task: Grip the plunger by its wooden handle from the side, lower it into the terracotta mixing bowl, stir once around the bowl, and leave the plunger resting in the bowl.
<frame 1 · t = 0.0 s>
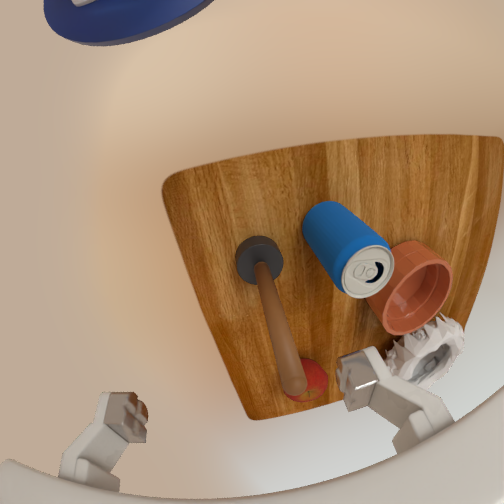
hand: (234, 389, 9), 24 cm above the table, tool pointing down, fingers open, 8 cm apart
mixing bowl: (399, 277, 40), on the table
apple: (299, 363, 46), on the table
bowl: (409, 340, 49), on the table
beverage can: (324, 222, 34), on the table
plunger: (257, 255, 35), on the table
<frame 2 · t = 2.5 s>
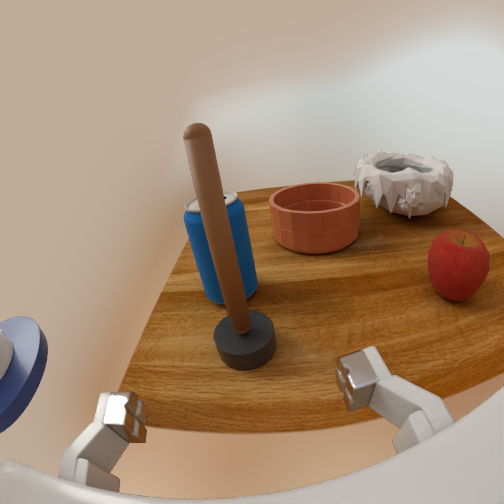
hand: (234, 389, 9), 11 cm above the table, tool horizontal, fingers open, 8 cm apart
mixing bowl: (316, 233, 43), on the table
apple: (450, 293, 26), on the table
bowl: (404, 209, 47), on the table
beverage can: (233, 292, 34), on the table
plunger: (247, 347, 25), on the table
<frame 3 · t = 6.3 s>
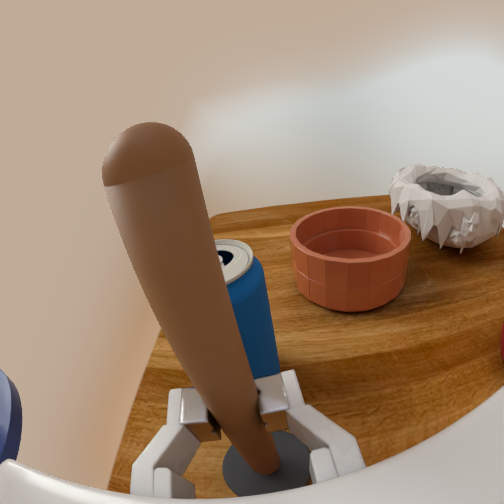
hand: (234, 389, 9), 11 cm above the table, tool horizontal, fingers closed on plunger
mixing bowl: (350, 276, 32), on the table
bowl: (445, 236, 35), on the table
beverage can: (244, 378, 22), on the table
plunger: (270, 472, 14), on the table, touching gripper
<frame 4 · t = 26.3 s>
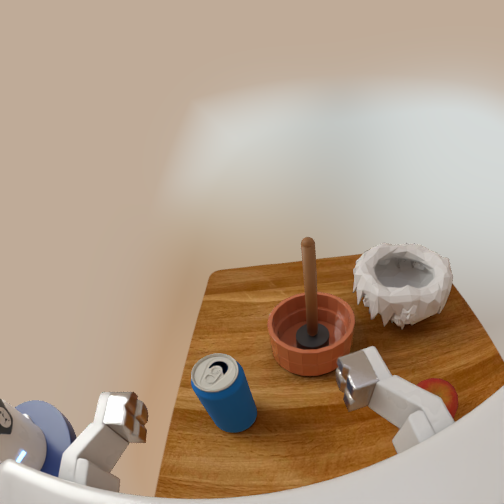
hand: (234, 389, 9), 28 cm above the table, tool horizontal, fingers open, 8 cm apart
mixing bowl: (312, 345, 44), on the table
apple: (420, 420, 27), on the table
bowl: (399, 305, 48), on the table
beverage can: (236, 416, 35), on the table
plunger: (312, 343, 44), point 1 cm above the table, touching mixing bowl
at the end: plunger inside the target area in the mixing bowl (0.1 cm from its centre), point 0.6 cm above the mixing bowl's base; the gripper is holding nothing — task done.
